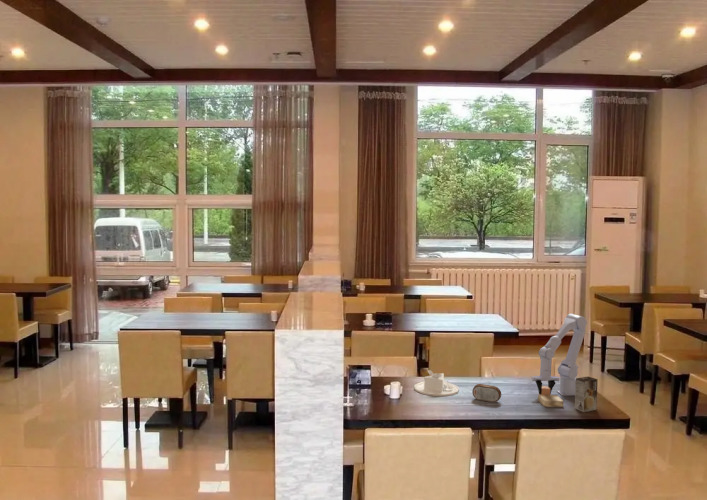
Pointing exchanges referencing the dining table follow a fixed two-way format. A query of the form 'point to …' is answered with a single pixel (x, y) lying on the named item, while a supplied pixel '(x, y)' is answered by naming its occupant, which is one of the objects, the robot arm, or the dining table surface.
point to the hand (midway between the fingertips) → (544, 393)
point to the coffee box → (586, 394)
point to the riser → (550, 400)
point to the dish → (436, 386)
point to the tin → (486, 393)
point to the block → (545, 390)
